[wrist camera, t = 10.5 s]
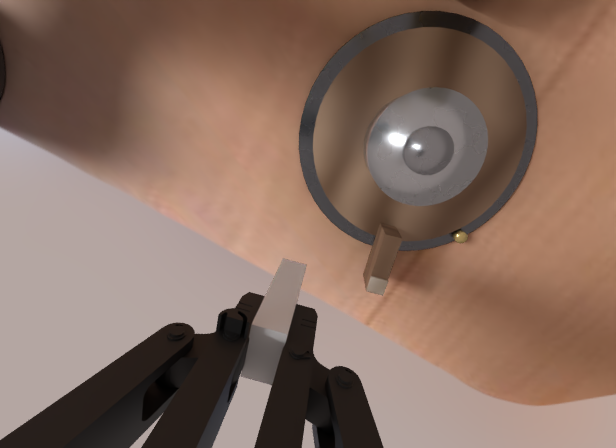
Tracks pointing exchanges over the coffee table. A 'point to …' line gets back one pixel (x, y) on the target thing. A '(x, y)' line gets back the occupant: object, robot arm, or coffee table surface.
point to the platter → (388, 86)
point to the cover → (426, 146)
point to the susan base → (366, 40)
